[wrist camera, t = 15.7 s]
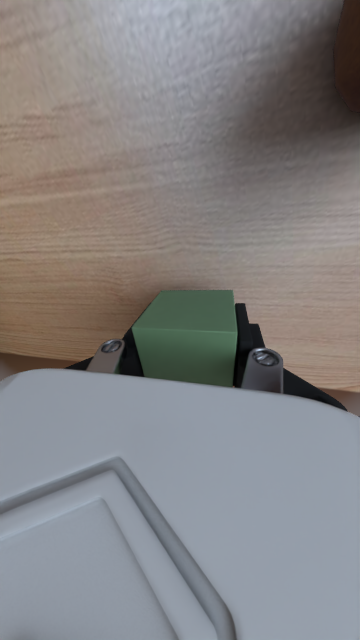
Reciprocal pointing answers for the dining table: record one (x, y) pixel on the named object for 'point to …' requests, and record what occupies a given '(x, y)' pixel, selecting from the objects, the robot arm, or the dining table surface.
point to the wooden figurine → (348, 55)
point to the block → (189, 337)
